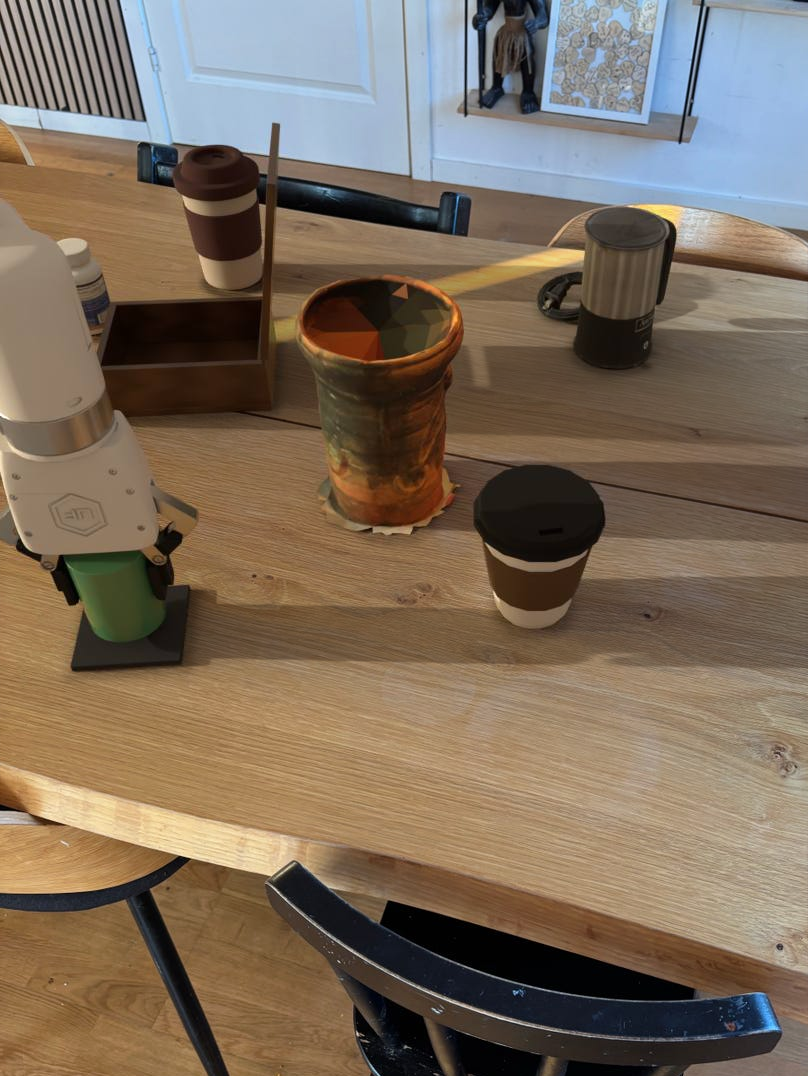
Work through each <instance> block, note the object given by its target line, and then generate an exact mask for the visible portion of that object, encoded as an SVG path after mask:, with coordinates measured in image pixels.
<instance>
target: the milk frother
mask: <svg viewBox="0 0 808 1076" xmlns="http://www.w3.org/2000/svg"><path fill="white" fill-rule="evenodd" d="M583 226H584V227H583V228H584V231H585V233H586V235H585V245H584V253H583V257H584V258H583V265H582V267H583V268H582V271H571V272H567V273H564V274H560V275H557V276H555V277H553V278H551V279H549V280H548V281H546V282H545V284H543V286H542V287H541V288H540V289H539V291H538V293H537V298H536V305H537V308H538V310H539V312H540V313H541V314H542V315H544V316H545V317H547V318H548V319H551V320H554V321H556V322H561V323H569V322H577V325H576V334H575V335H574V338H573V341H572V343H573V344H572V345H573V350H574V352H575V354H577V356H578V357H579V358H581V359H582V360H584V361H585V362H586V363H588V364H591V365H594V366H596V367H600V368H603V369H604V368H606V369H619V370H620V369H628V368H633V367H636V366H638V365H640V364H642V363H643V362H645V361H647V359H648V358H649V357H650V356H651V354H652V350H653V345H652V335H653V328H654V317H655V311H656V306H660V305H662V303H663V301H664V298H665V296H666V291H667V287H668V283H669V282H668V281H669V277H670V272H671V269H672V268H671V267H672V263H673V258H674V253H675V248H676V244H677V237H678V232H677V228H676V225H675V224H674V222H672V221H671V220H670V219H667V218H665V217H663V216H661V215H660V214H656V213H655V212H652V211H650V210H648V209H647V210H646V209H643V208H637V207H634V206H632V207H630V206H617V207H616V206H615V207H607V208H603V209H600V210H597V211H595V212H593V213H592V214H590V215H588V217H587V218H586V220H584V225H583ZM575 285H578V286H580V285H581V286H580V287H581V289H580V299H579V308H575V309H573V310H560V309H561V305H562V303H563V301H564V300H565V298H566V297H567V296H568V291H569V290H570V289H571V288H572V286H575Z"/></svg>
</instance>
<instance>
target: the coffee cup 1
mask: <svg viewBox="0 0 808 1076" xmlns="http://www.w3.org/2000/svg"><path fill="white" fill-rule="evenodd" d="M171 174H172V180H173V186H174V188H175V191H176V192H177V193H179V194H180V195H181V196H182V199H183V200H182V206H183V210H184V214H185V218H186V220H187V225H188V229H189V232H190V236H191V239H192V243H193V246H194V250H195V251H196V253H197V254H198V258H199V261H200V262H199V263H200V265H201V269H202V271H203V276H204V279H205V281H206V282H207V283H208V284H209V285H210V286H212V287H214V288H217V289H219V290H225V291H236V290H242V289H247V288H249V287H251V286H254V285H256V283H258V282H259V281H260V280H261V279H262V278H263V268H264V266H263V255H262V245H263V236H262V234H263V233H262V221H261V209H260V199H259V195H258V193H257V188H258V186H259V185H260V182H261V175H260V169H259V165H258V163H257V162H256V161H255V160H253V159H252V158H250V157H249V156H247V155H244V154H243V152H242V151H241V150H240V149H239V148H237V147H234V146H232V145H228V144H206V145H201V146H197V147H195V148H192V149H190V150H189V151H187V152H186V153H185V154H184V156H183V158H182V160H181V161H180V162H179V163H177V164H176V165H175V166H174V168H173V170H172V173H171Z"/></svg>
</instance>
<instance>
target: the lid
mask: <svg viewBox="0 0 808 1076" xmlns="http://www.w3.org/2000/svg"><path fill="white" fill-rule="evenodd" d="M280 138H281V123H278V122H272V123H271V131H270V142H269V143H270V144H269V153H268V163H267V175H266V185H265V186H266V187H265V189H266V190H265V214H264V215H265V216H264V220H265V221H264V240H263V241H264V243H263V244H264V245H263V273H262V295H261V296H262V322H261V350H260V359H264V360H268V353H269V339H270V325H271V311H272V312H273V309H272V308H273V294H274V277H275V275H274V274H275V254H276V253H275V252H276V251H275V250H276V229H277V209H278V208H277V206H278V187H279V185H278V183H279V162H280V161H279V160H280V140H281V139H280Z"/></svg>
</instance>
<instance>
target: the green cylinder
mask: <svg viewBox="0 0 808 1076" xmlns="http://www.w3.org/2000/svg"><path fill="white" fill-rule="evenodd" d="M63 558H64V561H65V564H66V566H67V569H68V571H69V574H70V576H71V579H72V581H73V584H74V586H75V589H76V591H77V594H78V596H79V602H80V604H81V606H82V609H83V608H84V611H85V613H86V616H87V618H88V621H89V623H90V626H91V628H92V630H93V631H94V633H95V634H96V635H98V636H99V637H101V638H102V639H105V640H108V641H112V642H130V641H134V640H138V639H141V638H143V637H145V636H147V635H149V634H151V633H152V632H153V631H155V630H156V629H157V628H158V627H159V626H160V625H161V623H162V622H163V620H164V618H165V616H166V610H167V608H166V603H165V600H161V601H159V600H158V599H156V597H155V594H154V591H153V588H152V584H151V581H150V578H149V575H148V572H147V561H148V558H147V557H146V556H145V555H144V554H143V553H142V552H141V551H140V550H132V551H118V552H101V553H83V554H63Z"/></svg>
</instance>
